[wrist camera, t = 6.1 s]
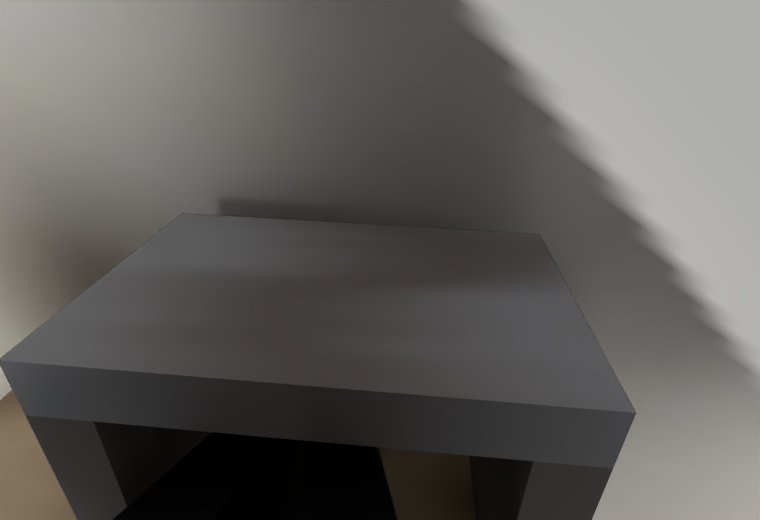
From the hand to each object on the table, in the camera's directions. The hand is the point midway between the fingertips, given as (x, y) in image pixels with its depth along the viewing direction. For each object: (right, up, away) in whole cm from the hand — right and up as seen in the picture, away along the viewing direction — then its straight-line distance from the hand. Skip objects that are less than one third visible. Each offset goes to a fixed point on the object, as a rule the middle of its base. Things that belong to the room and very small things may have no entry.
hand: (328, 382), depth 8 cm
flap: (-2, +1, +2) cm, 3 cm away
